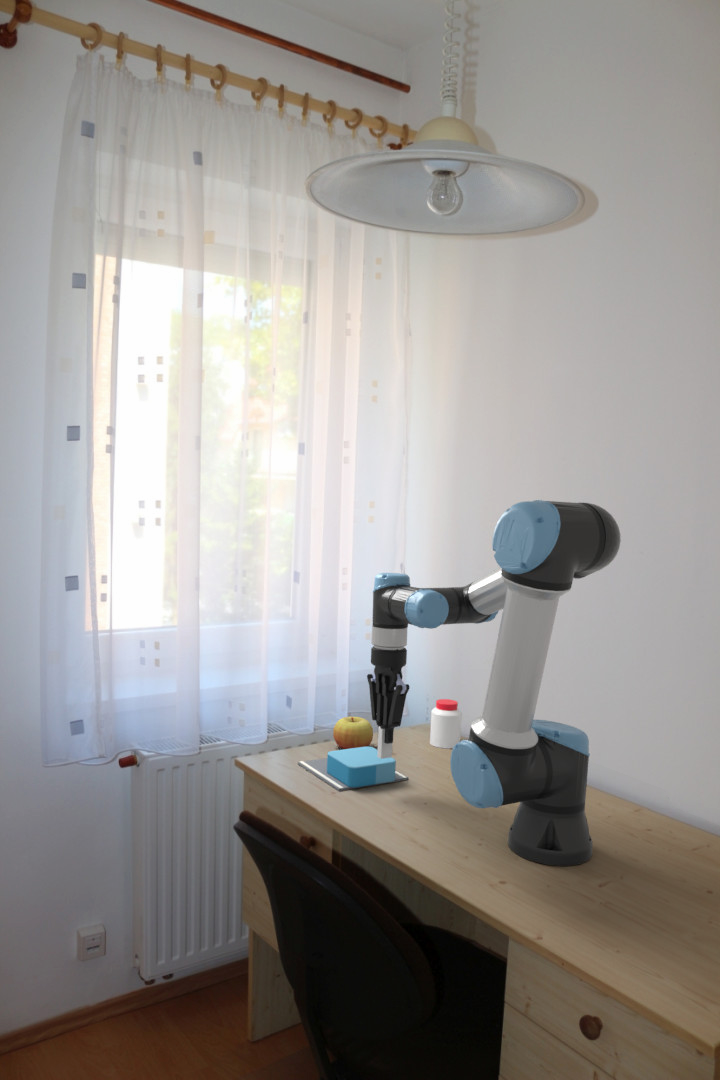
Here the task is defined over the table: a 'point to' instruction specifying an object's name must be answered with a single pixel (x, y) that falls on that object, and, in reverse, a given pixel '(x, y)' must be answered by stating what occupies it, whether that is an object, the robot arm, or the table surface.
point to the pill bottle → (445, 724)
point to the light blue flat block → (360, 767)
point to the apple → (353, 732)
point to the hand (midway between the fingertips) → (384, 756)
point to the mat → (320, 771)
